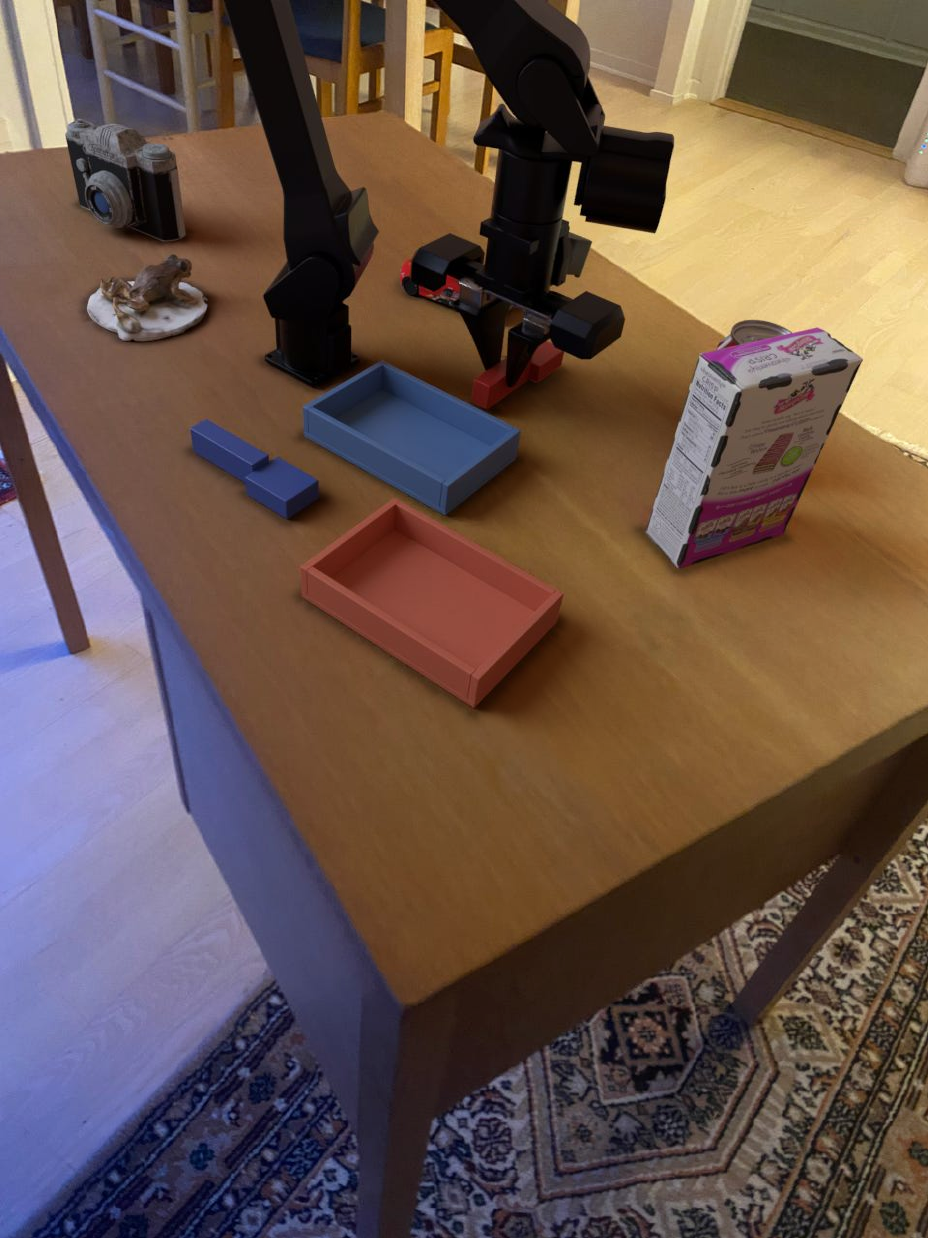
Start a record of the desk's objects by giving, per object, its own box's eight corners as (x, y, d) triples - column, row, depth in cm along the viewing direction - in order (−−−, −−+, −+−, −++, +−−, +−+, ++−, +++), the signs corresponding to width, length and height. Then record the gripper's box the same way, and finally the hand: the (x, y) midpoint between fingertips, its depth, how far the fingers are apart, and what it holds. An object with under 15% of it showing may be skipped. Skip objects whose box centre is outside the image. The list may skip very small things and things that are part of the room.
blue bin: (303, 436, 76) (302, 406, 74) (380, 388, 83) (381, 359, 80) (445, 516, 71) (448, 486, 69) (516, 459, 77) (521, 430, 75)
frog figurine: (158, 266, 94) (152, 230, 91) (235, 311, 89) (231, 274, 87) (60, 301, 87) (51, 263, 85) (138, 351, 83) (130, 312, 80)
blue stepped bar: (184, 456, 73) (180, 432, 71) (217, 437, 75) (214, 413, 73) (287, 519, 69) (285, 495, 67) (319, 497, 71) (318, 473, 69)
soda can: (758, 489, 78) (810, 366, 69) (680, 473, 78) (723, 349, 69) (756, 444, 82) (805, 324, 74) (683, 430, 83) (723, 308, 74)
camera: (51, 211, 100) (28, 114, 93) (98, 194, 104) (79, 99, 97) (149, 254, 96) (133, 155, 88) (194, 233, 100) (183, 137, 92)
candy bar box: (745, 500, 76) (819, 323, 65) (784, 537, 74) (869, 359, 62) (639, 531, 72) (697, 348, 60) (675, 572, 69) (745, 388, 57)
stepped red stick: (494, 414, 80) (498, 390, 79) (462, 397, 82) (465, 374, 80) (561, 365, 87) (565, 343, 86) (530, 351, 89) (534, 329, 87)
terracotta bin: (301, 597, 64) (300, 566, 62) (393, 526, 70) (394, 496, 68) (473, 708, 58) (478, 679, 56) (556, 622, 64) (564, 593, 62)
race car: (389, 288, 96) (390, 251, 93) (416, 270, 99) (418, 234, 96) (497, 329, 92) (501, 292, 89) (521, 308, 95) (526, 272, 92)
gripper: (677, 219, 73) (632, 386, 84) (490, 148, 79) (471, 313, 90) (609, 262, 66) (570, 437, 77) (411, 181, 73) (401, 354, 84)
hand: (502, 380), depth 82 cm, fingers closed on stepped red stick, 2 cm apart
